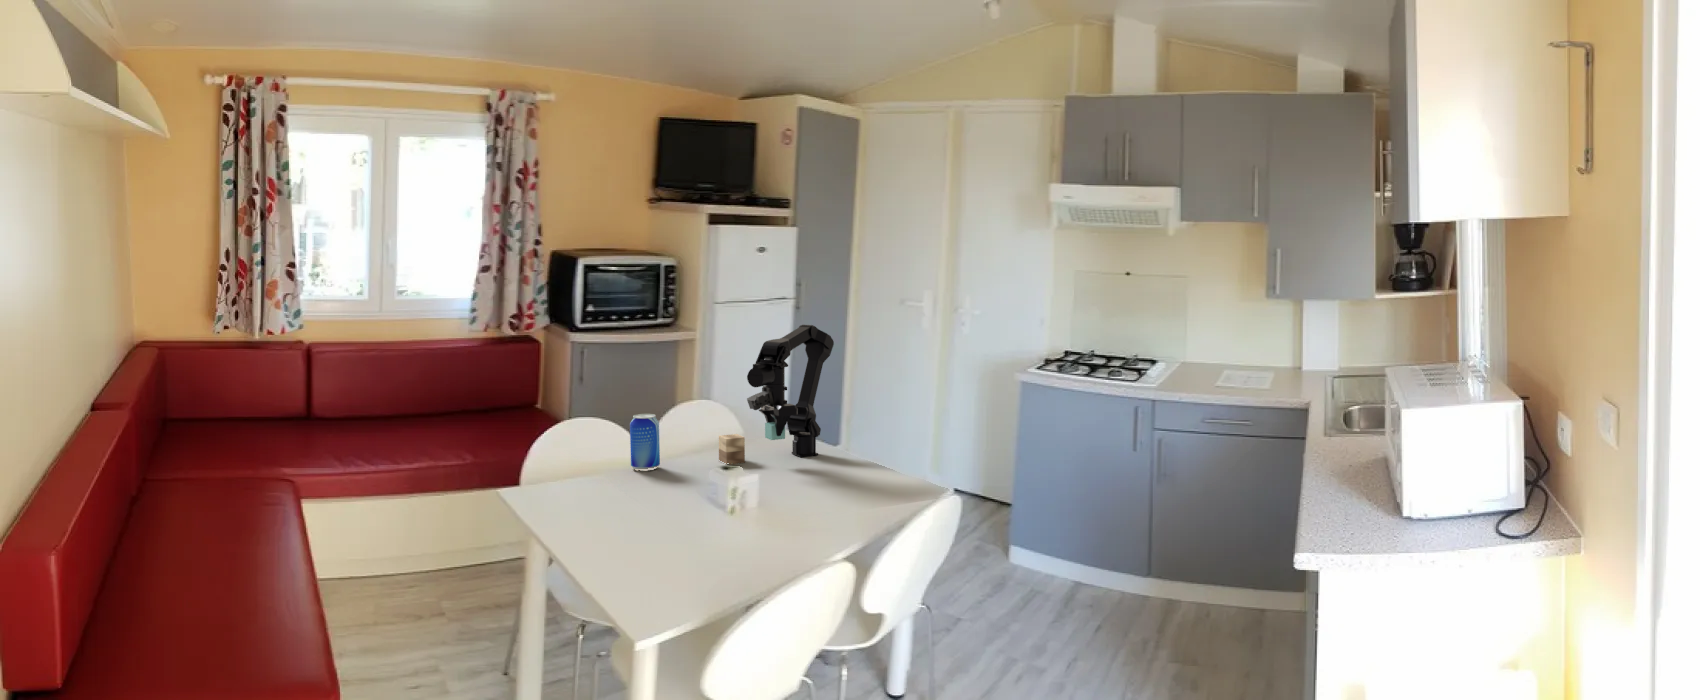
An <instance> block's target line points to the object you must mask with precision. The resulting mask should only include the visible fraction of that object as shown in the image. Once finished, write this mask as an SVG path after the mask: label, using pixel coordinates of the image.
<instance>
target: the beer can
mask: <svg viewBox="0 0 1700 700" xmlns="http://www.w3.org/2000/svg"><path fill="white" fill-rule="evenodd" d="M656 416H657V415H656V414H654V413H639V414H633V416H632V417H633V418H632V419H631V421H630V422H629V433H630V434H629V435H630V436H629V439H630V441H629V442H630V443H629V444H630V466H631V467H632V470H634V469H648V468H654V467H657V466H658V467H659V466H660V464H661V461H660V460H661V458H660V457H661V456H660V453H661V452H660V451H661V449H660V422H659V420H658V419H657V417H656Z"/></svg>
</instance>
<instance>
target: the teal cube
mask: <svg viewBox="0 0 1700 700" xmlns="http://www.w3.org/2000/svg"><path fill="white" fill-rule="evenodd" d="M764 437H765V439H768V440H770V441H775V440H777V441H778V440H785V439H786V426H785V427H784V430H783V432H782V434H781V436H777V434H776V426H775V422H769V423H767V422H764Z"/></svg>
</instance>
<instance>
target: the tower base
mask: <svg viewBox="0 0 1700 700" xmlns="http://www.w3.org/2000/svg"><path fill="white" fill-rule="evenodd" d="M745 452H746V450H743V451H734V452H725V451H723V450H721V449H719V448H718V461H719V460H720V461H722V462H724V463H726V464H727V463H729V464H730V465H736V464H738V463H739V464H745V461H746V458H745V457H746V455H745ZM720 461H719V462H720ZM722 462H721V463H722ZM724 463H723V464H724ZM731 463H733V464H731ZM726 464H725V465H726Z"/></svg>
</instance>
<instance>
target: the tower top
mask: <svg viewBox="0 0 1700 700" xmlns="http://www.w3.org/2000/svg"><path fill="white" fill-rule="evenodd" d="M745 440H746V438H745V436H743V435H740V434H738V433H735V434H733V433H732V434H724V435H723V434H721V435H718V450H719V449H721V450H723V451H725V452H734V451H743V450H745V449H746V448H745V447H746V446H745V445H746V444H745ZM745 451H746V450H745Z"/></svg>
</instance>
